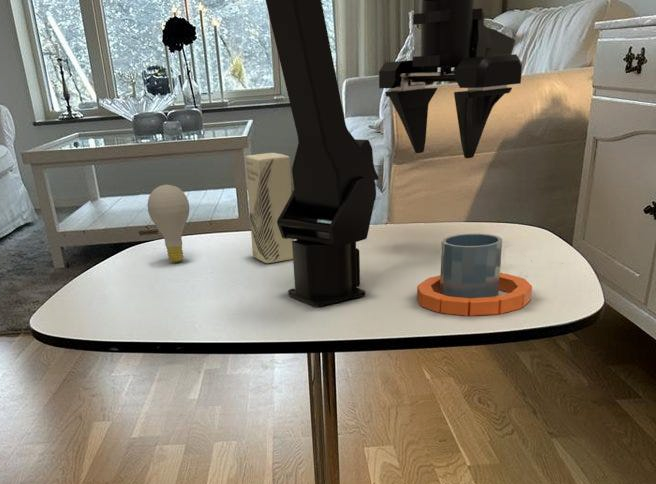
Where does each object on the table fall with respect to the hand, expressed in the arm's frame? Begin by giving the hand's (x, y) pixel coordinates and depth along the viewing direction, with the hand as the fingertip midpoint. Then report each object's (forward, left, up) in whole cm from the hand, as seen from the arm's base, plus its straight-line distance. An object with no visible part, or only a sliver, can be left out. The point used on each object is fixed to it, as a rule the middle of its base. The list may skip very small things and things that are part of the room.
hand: (443, 155), depth 89 cm
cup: (-9, -16, -12) cm, 22 cm away
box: (-16, +15, -12) cm, 25 cm away
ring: (-9, -16, -12) cm, 22 cm away
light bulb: (-27, +23, -12) cm, 38 cm away
